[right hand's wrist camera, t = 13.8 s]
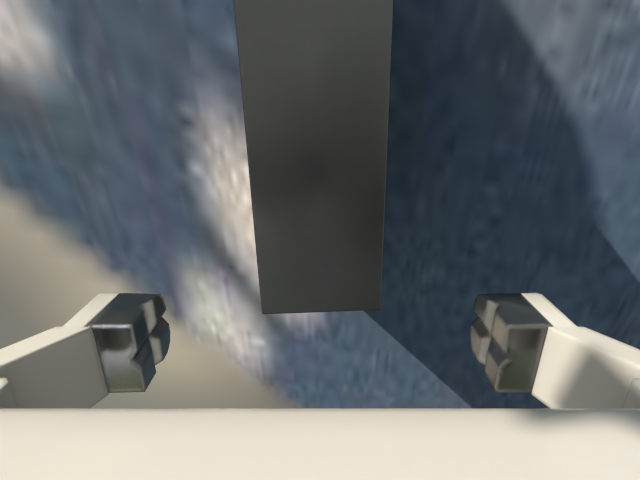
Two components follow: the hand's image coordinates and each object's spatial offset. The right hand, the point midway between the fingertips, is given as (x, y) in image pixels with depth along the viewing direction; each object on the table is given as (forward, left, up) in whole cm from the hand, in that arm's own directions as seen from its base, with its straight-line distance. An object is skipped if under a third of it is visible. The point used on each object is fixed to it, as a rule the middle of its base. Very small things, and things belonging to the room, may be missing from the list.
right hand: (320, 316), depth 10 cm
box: (+4, -4, -19) cm, 20 cm away
